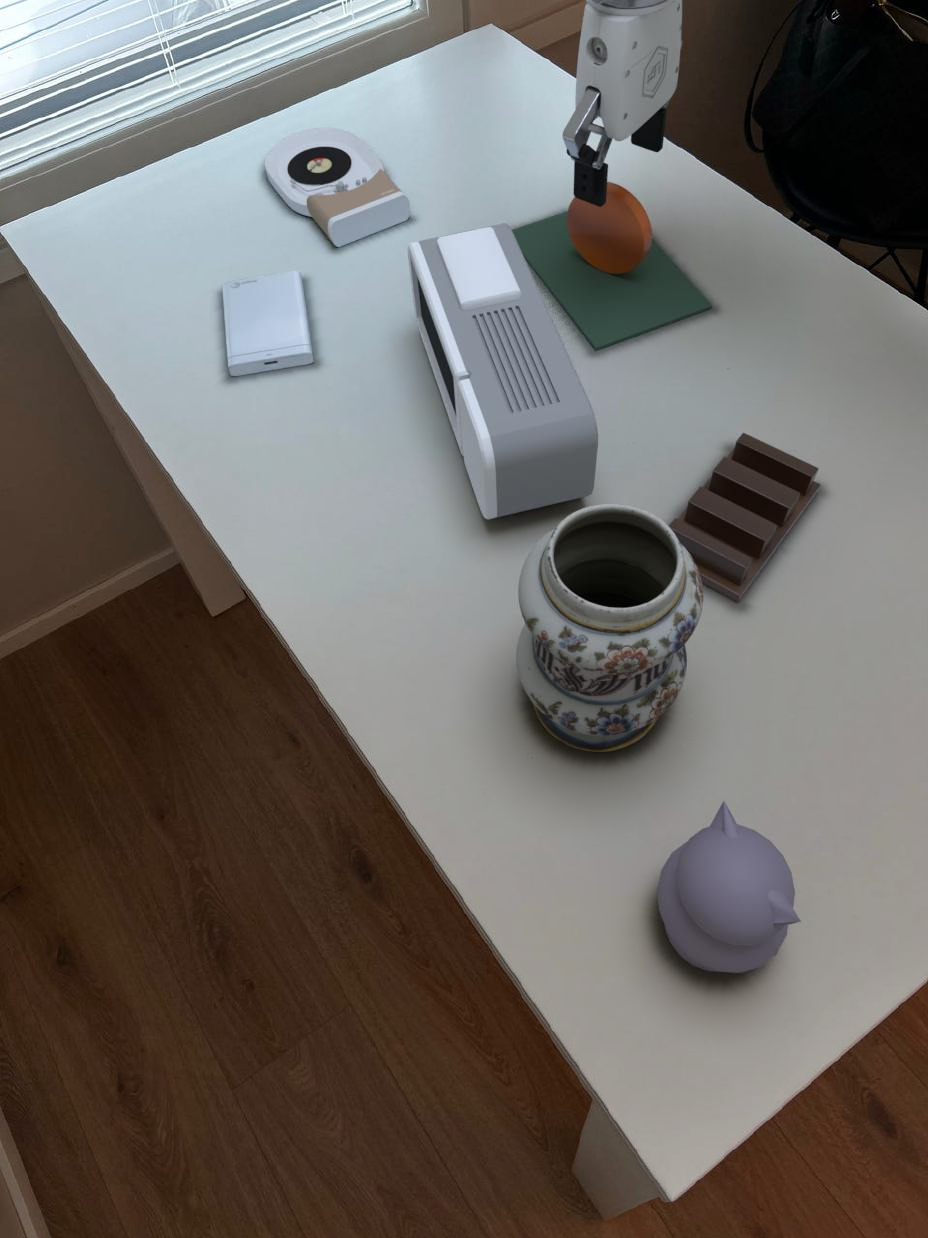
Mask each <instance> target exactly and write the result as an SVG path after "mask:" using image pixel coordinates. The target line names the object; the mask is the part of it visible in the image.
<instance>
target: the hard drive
mask: <svg viewBox="0 0 928 1238" xmlns="http://www.w3.org/2000/svg"><path fill="white" fill-rule="evenodd" d="M221 291H222V304H223V305H222V306H223V315H224V316H223V318H224V331H225V346H226V358H227V368H228V370H229V373H230V375H231V377H239V376H246V375H253V374H258V373H263V372H269V371H275V370H281V369H288V368H293V367H300V366H306V365H310V364H312V363H314V354H313V347H312V346H313V345H312V340H311V334H310V333H311V332H310V326H309V319H308V310H307V305H306V297H305V292H304V291H305V290H304V283H303V278H302V273H301V271H300V270H290V271H289V270H288V271H283V272H277V273H271V274H265V275H264V274H263V275H259V276H254V277H253V276H252V277H247V278H242V279H236V280H231V281H230V280H229V281H225V282H223V283H222V284H221Z"/></svg>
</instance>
